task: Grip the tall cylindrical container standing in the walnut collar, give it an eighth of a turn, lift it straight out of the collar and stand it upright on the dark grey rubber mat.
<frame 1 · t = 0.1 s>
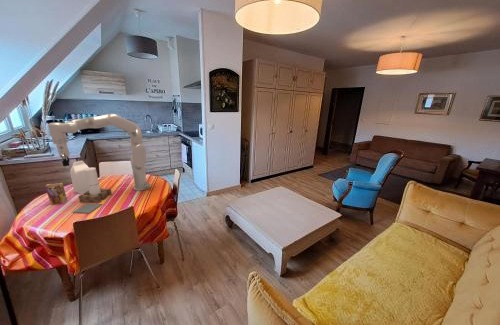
hand: (66, 164, 142), 31 cm above the table, tool pointing down, fingers open, 9 cm apart
candy box: (59, 202, 151), on the table
milk: (85, 190, 172), on the table
cylindrical container: (96, 198, 159), resting in collar
mat: (88, 208, 144), on the table
collar: (96, 197, 159), on the table
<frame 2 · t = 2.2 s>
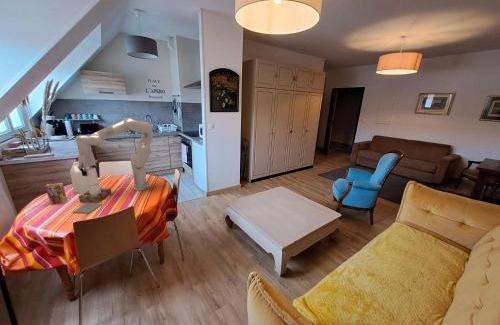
hand: (90, 173, 152), 21 cm above the table, tool pointing down, fingers open, 9 cm apart
nothing on the table moved.
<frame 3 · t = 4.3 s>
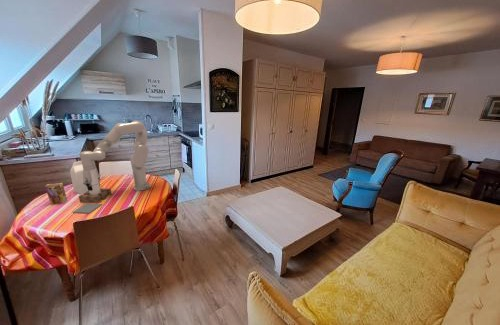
hand: (94, 188, 157), 9 cm above the table, tool pointing down, fingers closed on cylindrical container, 7 cm apart
cylindrical container: (96, 198, 159), resting in collar, touching gripper
everything else where it was.
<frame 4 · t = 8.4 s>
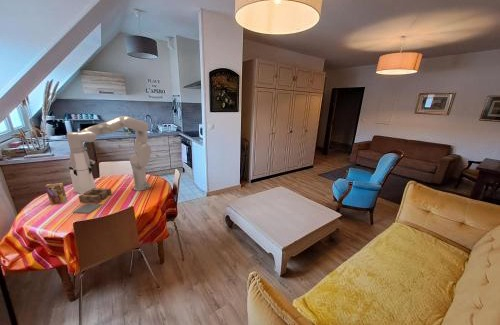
hand: (83, 173, 142), 25 cm above the table, tool pointing down, fingers closed on cylindrical container, 7 cm apart
cylindrical container: (86, 185, 145), point 16 cm above the table, touching gripper
everything else where it was.
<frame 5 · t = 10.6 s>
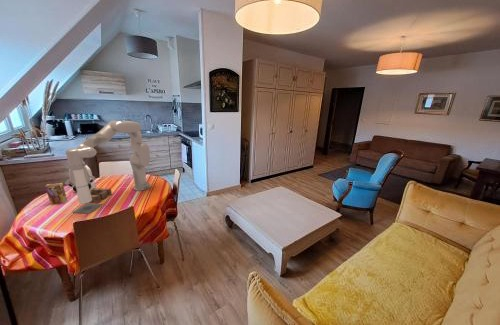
hand: (83, 190, 139), 15 cm above the table, tool pointing down, fingers closed on cylindrical container, 7 cm apart
cylindrical container: (85, 201, 142), point 6 cm above the table, touching gripper
everything else where it was.
when the fingers open (11 cm above the table, at t = 12.4 s): cylindrical container drops 1 cm, resting on mat.
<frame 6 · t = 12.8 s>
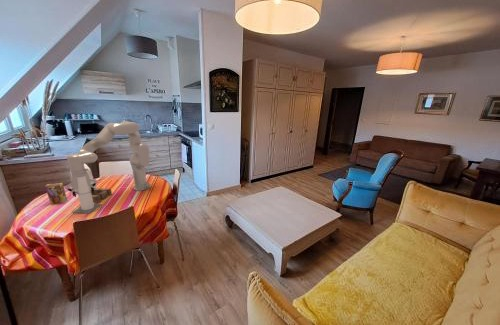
hand: (84, 194, 140), 12 cm above the table, tool pointing down, fingers open, 9 cm apart
cylindrical container: (88, 207, 144), point 1 cm above the table, touching mat
everything else where it was.
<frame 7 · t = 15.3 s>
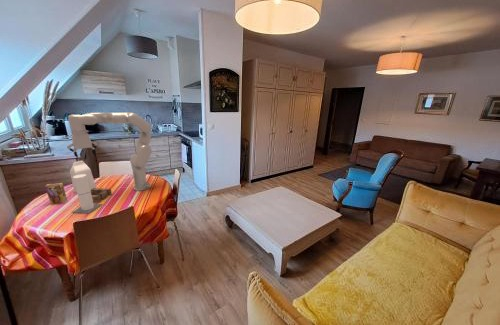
hand: (85, 155, 145), 37 cm above the table, tool pointing down, fingers open, 9 cm apart
nothing on the table moved.
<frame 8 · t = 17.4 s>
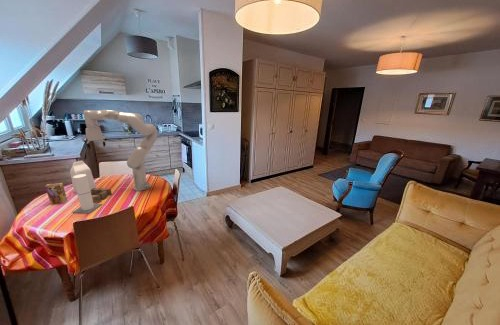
hand: (97, 147, 162), 38 cm above the table, tool pointing down, fingers open, 9 cm apart
nothing on the table moved.
at the end: cylindrical container inside the target area on the mat (0.2 cm from its centre), point 0.6 cm above the mat's base; cylindrical container tilted 0°; the gripper is holding nothing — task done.
